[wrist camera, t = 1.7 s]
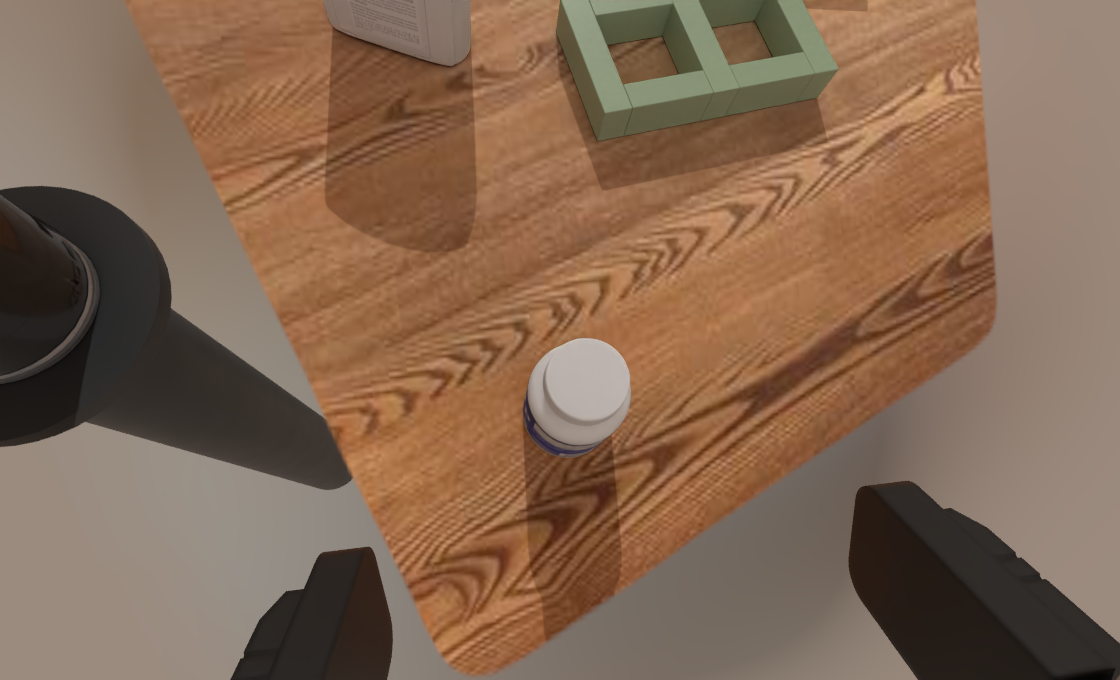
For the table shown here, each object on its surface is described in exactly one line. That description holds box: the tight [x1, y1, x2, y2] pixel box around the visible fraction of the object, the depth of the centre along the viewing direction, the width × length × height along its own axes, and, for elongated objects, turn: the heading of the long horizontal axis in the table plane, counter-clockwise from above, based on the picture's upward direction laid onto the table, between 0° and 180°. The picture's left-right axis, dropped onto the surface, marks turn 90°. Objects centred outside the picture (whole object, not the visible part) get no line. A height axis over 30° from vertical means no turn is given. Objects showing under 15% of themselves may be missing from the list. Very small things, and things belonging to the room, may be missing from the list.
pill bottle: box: [523, 338, 631, 458], centre depth 32 cm, size 5×5×9 cm
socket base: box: [556, 0, 838, 141], centre depth 44 cm, size 18×10×3 cm, turn 107°
